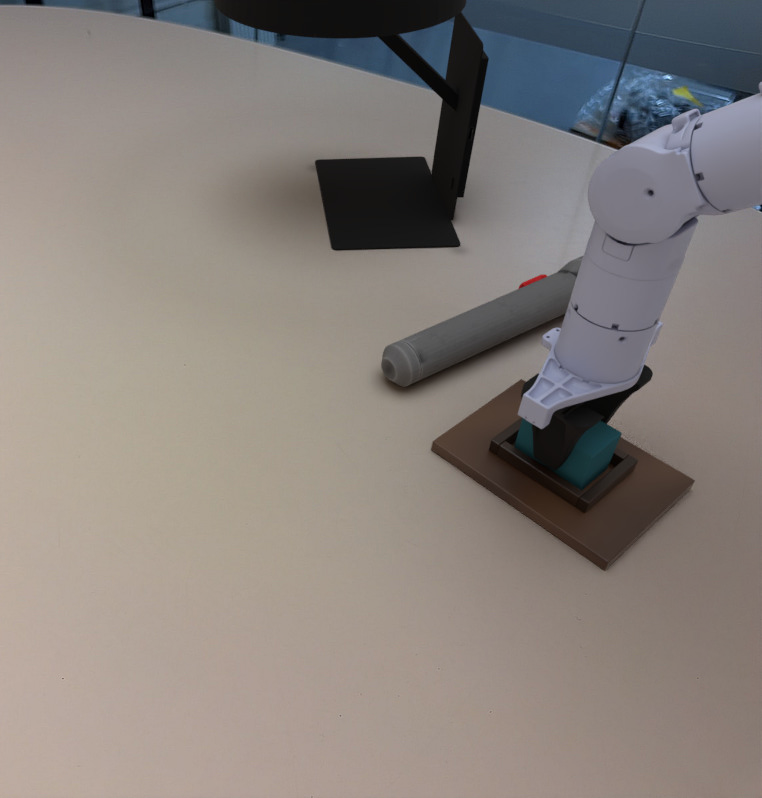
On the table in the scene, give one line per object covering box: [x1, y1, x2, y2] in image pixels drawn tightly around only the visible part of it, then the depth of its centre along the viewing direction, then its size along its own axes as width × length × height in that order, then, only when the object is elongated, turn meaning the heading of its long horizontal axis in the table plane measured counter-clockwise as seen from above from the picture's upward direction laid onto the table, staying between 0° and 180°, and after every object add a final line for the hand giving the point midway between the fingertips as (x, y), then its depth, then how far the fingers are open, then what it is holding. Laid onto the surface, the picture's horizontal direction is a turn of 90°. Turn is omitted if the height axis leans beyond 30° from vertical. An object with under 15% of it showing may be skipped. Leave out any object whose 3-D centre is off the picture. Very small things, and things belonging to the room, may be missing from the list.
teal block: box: [514, 418, 623, 490], centre depth 63 cm, size 6×4×4 cm, turn 39°
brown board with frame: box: [430, 378, 696, 571], centre depth 65 cm, size 16×12×2 cm
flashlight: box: [380, 254, 584, 387], centre depth 77 cm, size 5×28×5 cm
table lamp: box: [213, 0, 490, 251], centre depth 85 cm, size 26×28×40 cm
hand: (564, 447), depth 64 cm, fingers closed on teal block, 4 cm apart
